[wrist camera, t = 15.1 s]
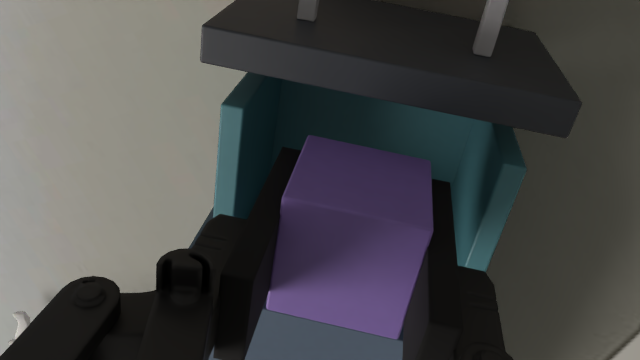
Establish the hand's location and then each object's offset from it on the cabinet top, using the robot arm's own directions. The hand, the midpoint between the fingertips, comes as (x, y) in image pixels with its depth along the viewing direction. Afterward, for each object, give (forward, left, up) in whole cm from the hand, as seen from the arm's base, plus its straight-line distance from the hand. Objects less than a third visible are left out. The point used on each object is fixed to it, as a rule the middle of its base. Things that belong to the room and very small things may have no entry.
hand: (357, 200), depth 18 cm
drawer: (0, 0, -8) cm, 8 cm away
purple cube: (0, 0, 0) cm, 0 cm away
